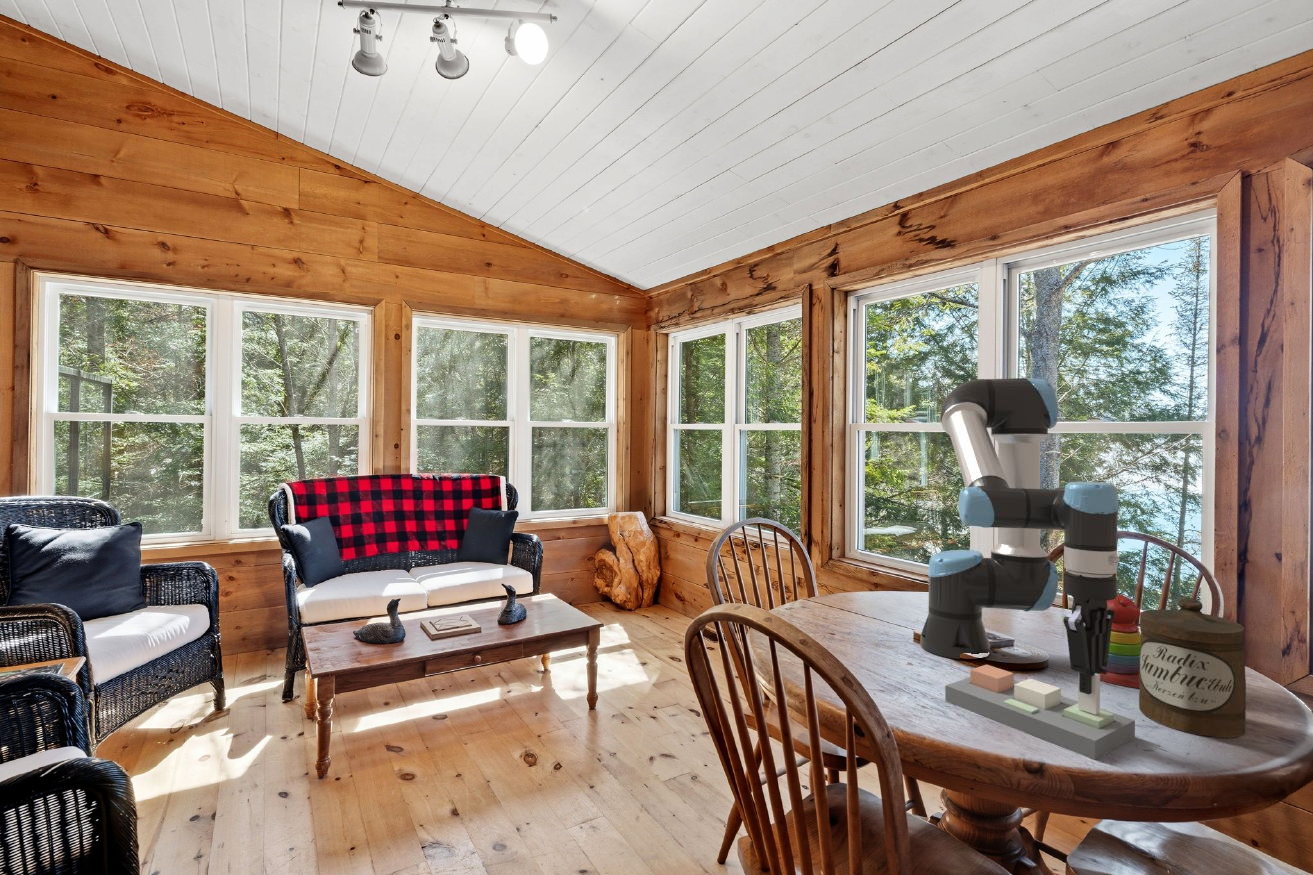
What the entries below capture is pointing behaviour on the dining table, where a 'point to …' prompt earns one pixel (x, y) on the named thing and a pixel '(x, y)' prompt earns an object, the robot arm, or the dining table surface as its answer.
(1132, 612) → the stacking bear
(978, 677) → the terracotta key
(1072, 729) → the console
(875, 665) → the dining table surface
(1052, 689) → the off-white key
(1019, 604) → the robot arm
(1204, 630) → the wooden container
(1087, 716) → the sage green key
